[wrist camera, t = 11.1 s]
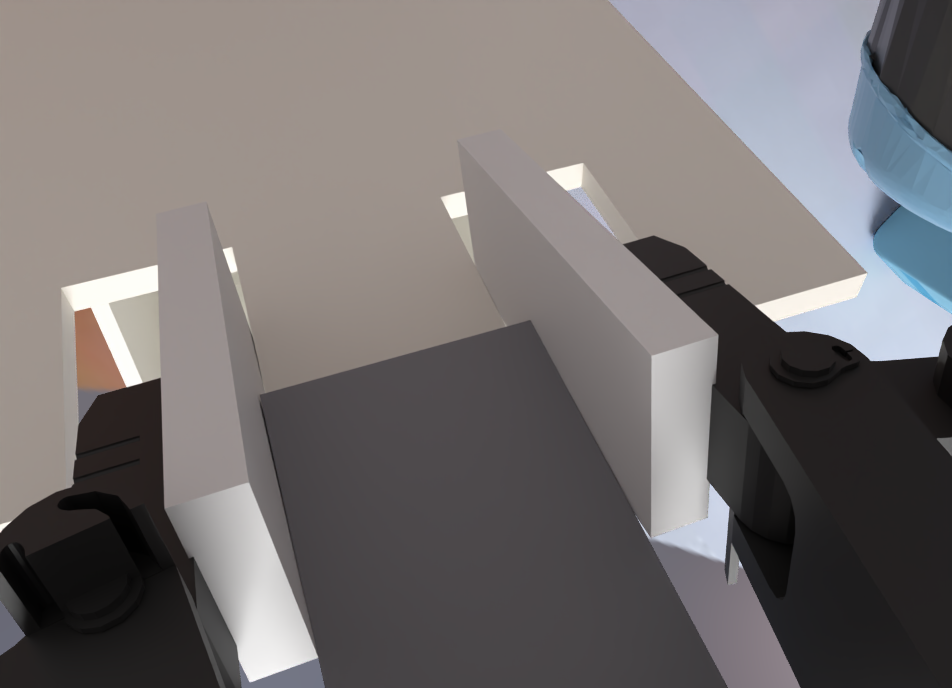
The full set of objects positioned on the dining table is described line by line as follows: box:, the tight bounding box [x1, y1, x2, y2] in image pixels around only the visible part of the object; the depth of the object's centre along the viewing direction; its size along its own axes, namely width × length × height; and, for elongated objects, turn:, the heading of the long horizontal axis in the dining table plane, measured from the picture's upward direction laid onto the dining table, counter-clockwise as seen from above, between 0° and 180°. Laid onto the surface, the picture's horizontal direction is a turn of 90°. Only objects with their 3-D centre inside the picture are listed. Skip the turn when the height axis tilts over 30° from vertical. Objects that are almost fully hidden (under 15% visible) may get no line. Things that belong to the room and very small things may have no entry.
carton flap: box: [0, 0, 867, 688], centre depth 17 cm, size 25×17×3 cm
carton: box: [91, 215, 507, 393], centre depth 35 cm, size 18×16×12 cm
